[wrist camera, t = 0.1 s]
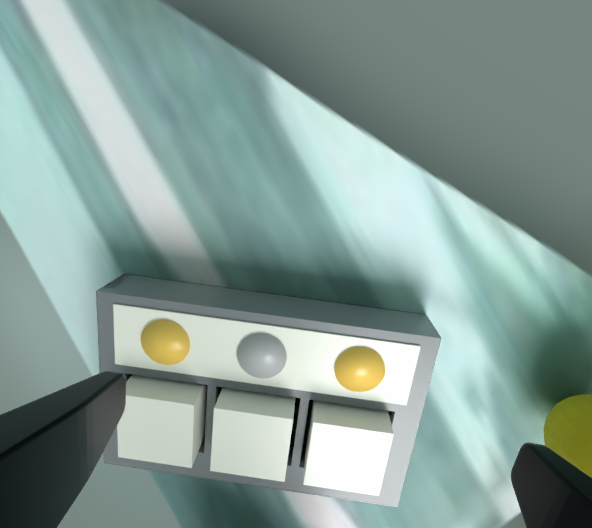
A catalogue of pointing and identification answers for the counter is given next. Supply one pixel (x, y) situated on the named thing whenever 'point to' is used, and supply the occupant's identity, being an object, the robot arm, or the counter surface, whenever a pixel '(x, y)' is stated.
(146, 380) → the button
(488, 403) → the counter surface
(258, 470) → the button
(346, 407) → the button
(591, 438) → the lemon
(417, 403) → the board
